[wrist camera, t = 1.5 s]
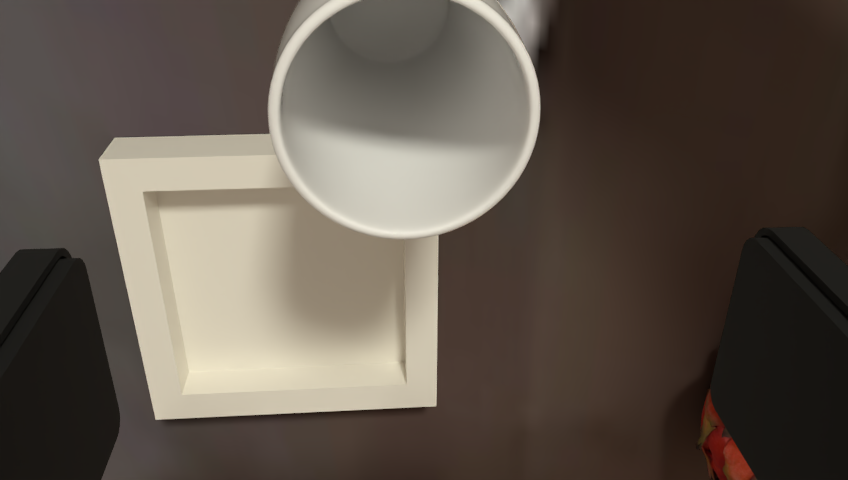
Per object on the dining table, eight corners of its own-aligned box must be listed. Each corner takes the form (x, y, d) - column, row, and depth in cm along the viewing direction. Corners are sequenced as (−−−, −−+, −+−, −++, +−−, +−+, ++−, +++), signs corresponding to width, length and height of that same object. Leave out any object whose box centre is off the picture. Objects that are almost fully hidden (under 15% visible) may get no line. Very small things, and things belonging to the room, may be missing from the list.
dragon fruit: (824, 265, 42) (693, 403, 48) (753, 288, 36) (616, 441, 43) (966, 385, 38) (802, 518, 44) (912, 433, 32) (732, 578, 38)
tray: (434, 129, 35) (439, 150, 33) (432, 376, 42) (436, 406, 40) (114, 137, 34) (98, 159, 32) (166, 388, 41) (155, 419, 39)
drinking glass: (502, -31, 32) (602, 84, 19) (408, 102, 34) (438, 286, 21) (362, -136, 29) (364, -90, 16) (272, 15, 32) (211, 159, 19)
